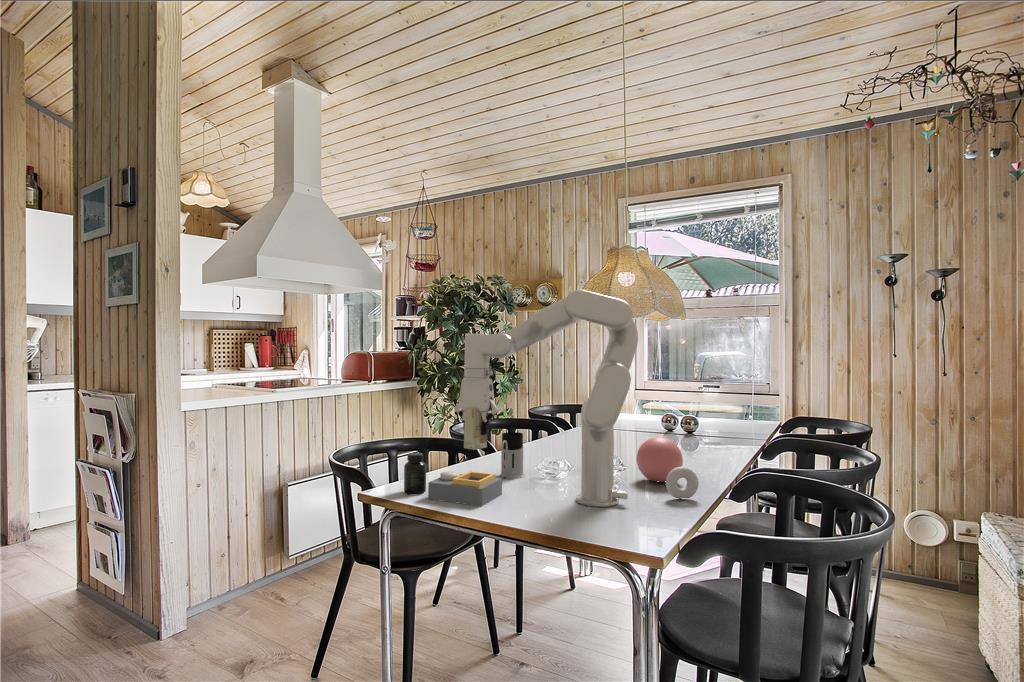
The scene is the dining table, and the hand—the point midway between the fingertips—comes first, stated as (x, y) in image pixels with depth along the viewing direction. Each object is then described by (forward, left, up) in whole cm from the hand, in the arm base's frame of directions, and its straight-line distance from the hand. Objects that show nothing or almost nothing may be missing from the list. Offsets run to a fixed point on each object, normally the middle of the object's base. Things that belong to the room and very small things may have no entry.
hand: (475, 433), depth 165 cm
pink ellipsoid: (-48, -47, -20) cm, 70 cm away
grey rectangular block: (+3, 0, -20) cm, 20 cm away
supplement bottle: (+20, +2, -20) cm, 28 cm away
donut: (-58, -25, -20) cm, 66 cm away
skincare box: (0, 0, -5) cm, 5 cm away
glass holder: (+1, -29, -20) cm, 35 cm away
